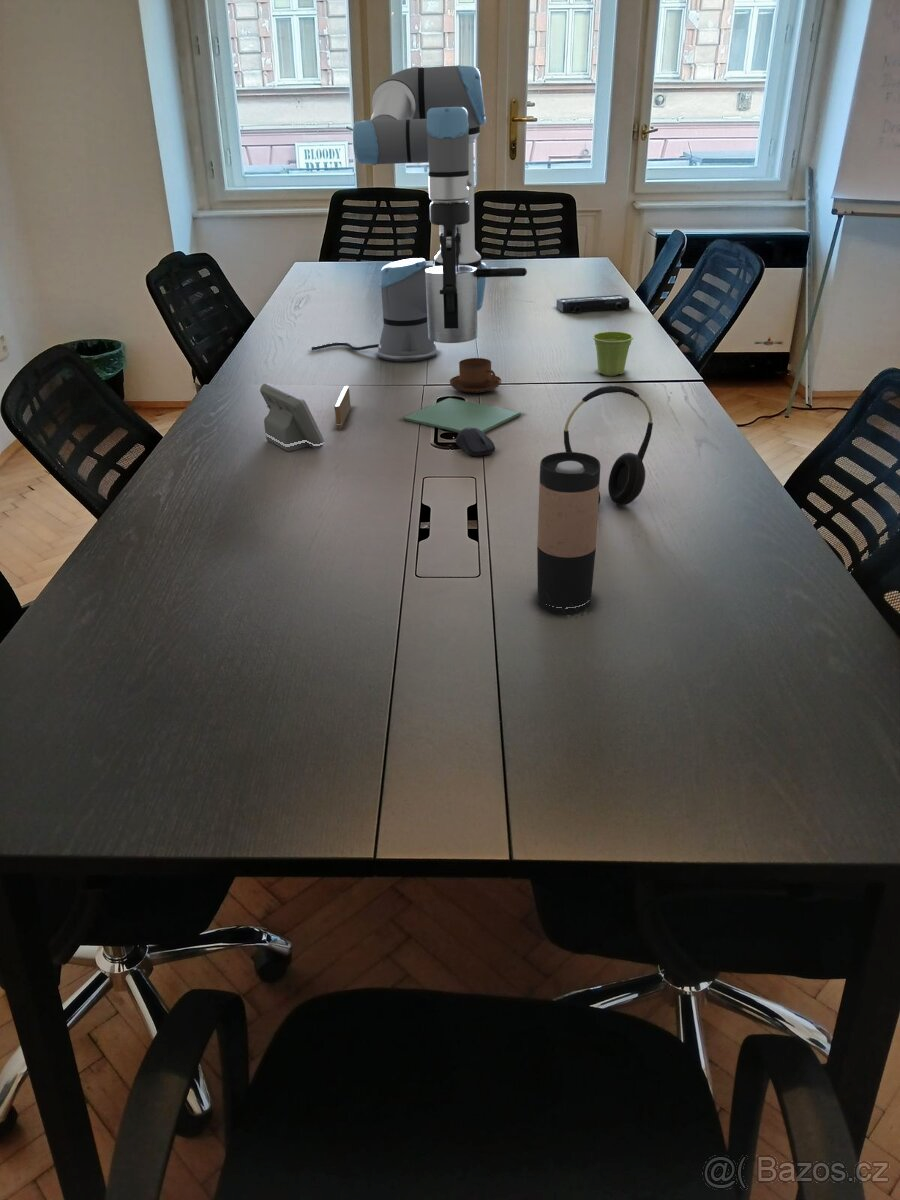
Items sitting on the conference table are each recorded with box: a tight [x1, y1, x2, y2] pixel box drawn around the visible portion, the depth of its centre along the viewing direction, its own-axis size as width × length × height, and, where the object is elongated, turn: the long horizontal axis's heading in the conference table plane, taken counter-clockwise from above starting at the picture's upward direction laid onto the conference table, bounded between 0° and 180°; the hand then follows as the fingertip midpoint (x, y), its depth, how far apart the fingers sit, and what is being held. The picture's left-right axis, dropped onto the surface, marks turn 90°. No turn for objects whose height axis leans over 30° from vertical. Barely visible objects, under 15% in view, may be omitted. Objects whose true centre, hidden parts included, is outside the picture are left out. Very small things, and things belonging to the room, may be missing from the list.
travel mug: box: [536, 451, 601, 615], centre depth 114 cm, size 8×8×20 cm
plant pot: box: [592, 331, 634, 377], centre depth 210 cm, size 9×9×9 cm
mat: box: [403, 397, 521, 434], centre depth 187 cm, size 19×16×1 cm
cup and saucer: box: [449, 357, 502, 394], centre depth 203 cm, size 12×12×6 cm
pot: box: [425, 265, 528, 344], centre depth 174 cm, size 16×10×23 cm
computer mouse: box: [455, 427, 496, 457], centre depth 169 cm, size 6×9×4 cm, turn 28°
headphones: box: [563, 385, 654, 506], centre depth 141 cm, size 9×15×20 cm, turn 101°
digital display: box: [555, 294, 631, 314], centre depth 272 cm, size 21×3×10 cm
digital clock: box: [259, 383, 325, 452], centre depth 174 cm, size 16×9×11 cm, turn 26°
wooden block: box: [334, 385, 351, 430], centre depth 187 cm, size 1×14×5 cm, turn 178°
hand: (452, 321), depth 177 cm, fingers closed on pot, 10 cm apart
